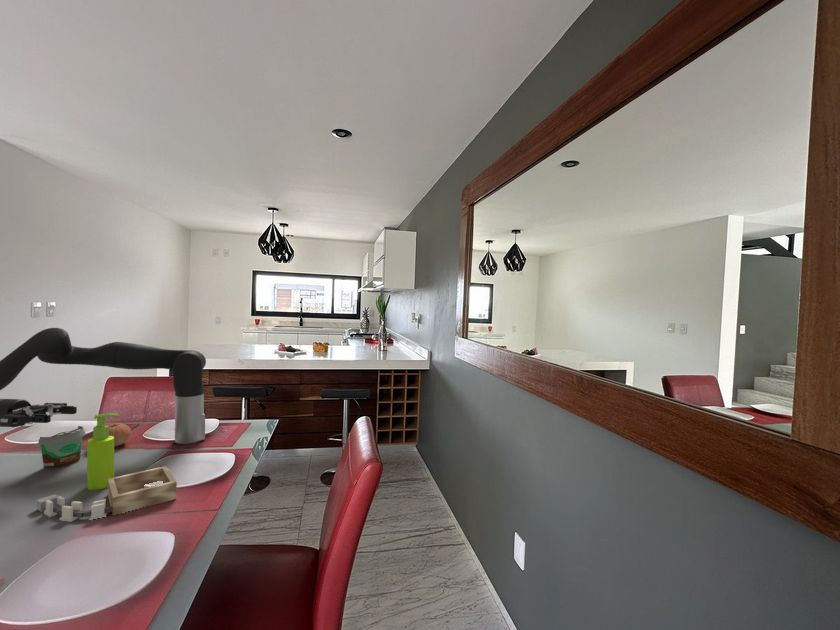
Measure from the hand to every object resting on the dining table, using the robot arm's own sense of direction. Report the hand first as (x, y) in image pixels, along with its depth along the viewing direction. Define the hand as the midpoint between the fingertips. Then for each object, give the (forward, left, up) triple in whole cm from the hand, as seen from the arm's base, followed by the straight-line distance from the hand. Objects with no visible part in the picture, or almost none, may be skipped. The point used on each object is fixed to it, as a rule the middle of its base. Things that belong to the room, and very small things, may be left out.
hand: (63, 414), depth 111 cm
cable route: (-2, +20, -20) cm, 28 cm away
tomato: (-13, -28, -20) cm, 37 cm away
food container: (-1, -18, -20) cm, 27 cm away
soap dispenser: (-8, +7, -20) cm, 23 cm away
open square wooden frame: (-15, +22, -20) cm, 33 cm away
